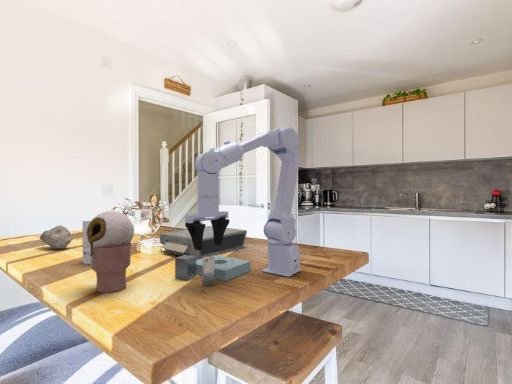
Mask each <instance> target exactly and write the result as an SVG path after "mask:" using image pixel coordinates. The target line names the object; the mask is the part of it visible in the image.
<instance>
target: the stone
mask: <svg viewBox="0 0 512 384" xmlns="http://www.w3.org/2000/svg"><path fill="white" fill-rule="evenodd" d="M72 237H73V236H72V234H71V232H70V231H69V229H68V228H66V227H65V226H63V225H62V224H61V225H56V226H54V227H52V228H50V229H48V230H44V231H43V232H42V233H41V235H40V237H39V239H40V240H41V241H42V242H43V243H44V244H46V245H48V246H49V247H50V248H52V249H54V250H57V249H58V250H59V249H60V250H61V249H62V250H63V249H65V248H66V247H68V245H69V244H71V243H72V240H73V238H72Z"/></svg>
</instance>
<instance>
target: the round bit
mask: <svg viewBox="0 0 512 384" xmlns="http://www.w3.org/2000/svg"><path fill="white" fill-rule="evenodd" d="M215 280H216V279H215V257H212V256H207V257H203V258H202V276H201V285H202V286H207V287H208V286H210V287H211V286H214V285H215V284H216V281H215Z"/></svg>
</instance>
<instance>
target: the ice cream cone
mask: <svg viewBox="0 0 512 384" xmlns="http://www.w3.org/2000/svg"><path fill="white" fill-rule="evenodd" d="M89 221H90V223H89V224H88V227H87V231H86V234H87V240H88V242H89V244H90V246H91V247H90V250H91V254H90V257H91V264H90V266H91V270H92V271H94V272H95V273H96V286H95V287H96V291H97V292H98V293H104V294H105V293H113V292H118V291H119V292H120V291H121V290H124V289H125V288H126V287H127V277H126V276H127V274H126V273H127V268H129V266H131V248H132V240H133V238H134V232H135V229H134V225H133V221H132V220H131V219H130V218H129V217H128V215H126V214H124V213H123V212H119V211H116V210H110V211H107V210H106V211H103V212H100V213H98V214H97V215H96V216H94V217H93V218H92V219H91V220H89Z"/></svg>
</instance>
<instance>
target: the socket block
mask: <svg viewBox="0 0 512 384" xmlns="http://www.w3.org/2000/svg"><path fill="white" fill-rule="evenodd" d="M212 257H215V280H218V281H223V282H227V281H230V280H231V279H234V278H237V277H240V276H242V275H245V274H246V273H249V272H251V270H252V269H251V268H252V267H251V266H252V265H251V264H252V263H251V262H252V261H250V260H246V259H245V260H244V259H239V258H234V257H228V256H222V255H213V256H212ZM197 275H198V276H201V277H202V259H199V260H198V259H196V276H197Z"/></svg>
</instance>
